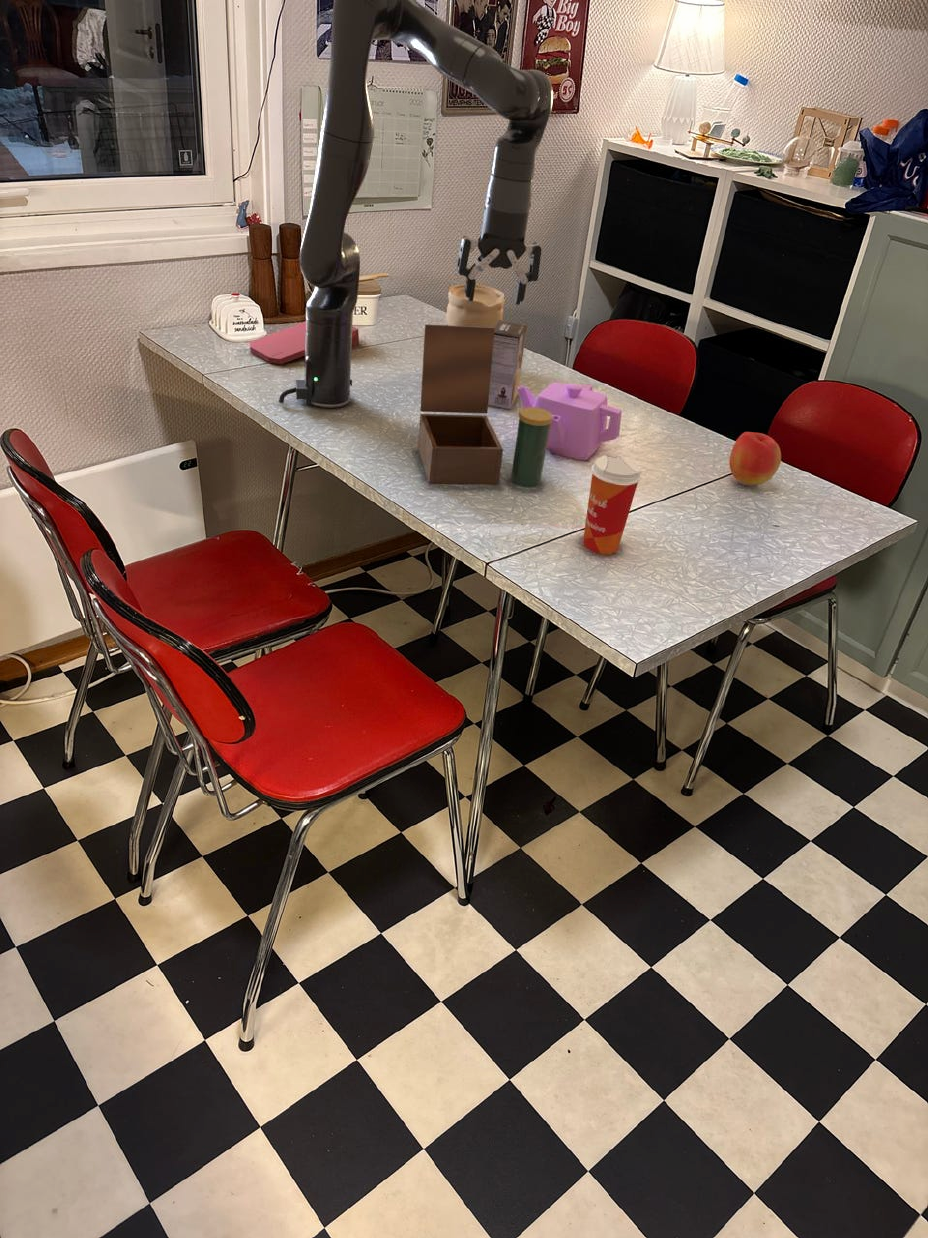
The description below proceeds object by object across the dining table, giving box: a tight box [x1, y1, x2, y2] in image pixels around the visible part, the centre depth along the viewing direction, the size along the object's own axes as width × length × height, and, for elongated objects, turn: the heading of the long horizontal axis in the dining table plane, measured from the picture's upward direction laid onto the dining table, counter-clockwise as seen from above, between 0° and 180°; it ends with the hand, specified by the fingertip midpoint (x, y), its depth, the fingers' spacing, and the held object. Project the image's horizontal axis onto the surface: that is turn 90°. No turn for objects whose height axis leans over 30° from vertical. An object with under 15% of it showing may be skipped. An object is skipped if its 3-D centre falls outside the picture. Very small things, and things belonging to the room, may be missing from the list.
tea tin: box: [510, 407, 553, 488], centre depth 172 cm, size 6×6×14 cm
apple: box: [728, 431, 782, 487], centre depth 184 cm, size 10×10×10 cm
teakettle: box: [517, 381, 623, 461], centre depth 190 cm, size 17×17×12 cm
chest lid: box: [419, 323, 495, 414], centre depth 176 cm, size 16×13×1 cm
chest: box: [417, 413, 504, 486], centre depth 176 cm, size 15×13×8 cm
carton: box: [249, 321, 360, 365], centre depth 221 cm, size 12×5×25 cm
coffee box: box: [488, 320, 528, 410], centre depth 204 cm, size 9×6×16 cm
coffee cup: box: [582, 454, 643, 555], centre depth 156 cm, size 8×8×15 cm
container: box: [445, 283, 505, 328], centre depth 216 cm, size 13×13×18 cm
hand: (493, 301), depth 169 cm, fingers open, 8 cm apart
